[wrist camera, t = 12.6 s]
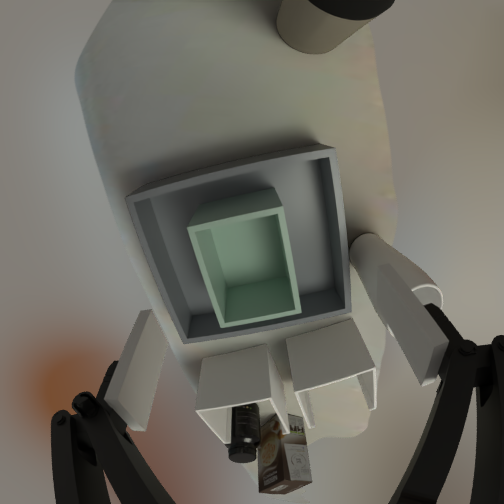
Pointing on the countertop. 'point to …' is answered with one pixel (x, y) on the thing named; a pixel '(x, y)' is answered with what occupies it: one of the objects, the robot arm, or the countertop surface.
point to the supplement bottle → (244, 433)
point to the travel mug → (324, 21)
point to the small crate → (246, 258)
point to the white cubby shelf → (270, 383)
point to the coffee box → (283, 457)
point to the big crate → (298, 225)
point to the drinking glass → (379, 252)
